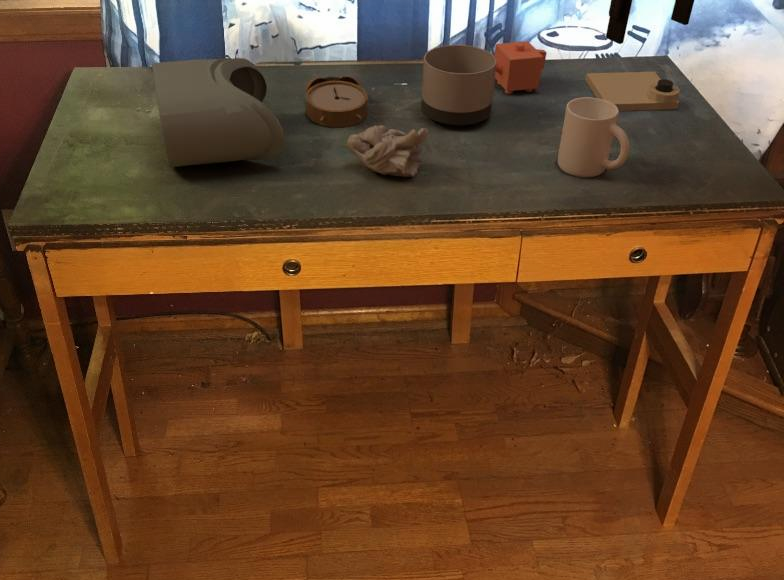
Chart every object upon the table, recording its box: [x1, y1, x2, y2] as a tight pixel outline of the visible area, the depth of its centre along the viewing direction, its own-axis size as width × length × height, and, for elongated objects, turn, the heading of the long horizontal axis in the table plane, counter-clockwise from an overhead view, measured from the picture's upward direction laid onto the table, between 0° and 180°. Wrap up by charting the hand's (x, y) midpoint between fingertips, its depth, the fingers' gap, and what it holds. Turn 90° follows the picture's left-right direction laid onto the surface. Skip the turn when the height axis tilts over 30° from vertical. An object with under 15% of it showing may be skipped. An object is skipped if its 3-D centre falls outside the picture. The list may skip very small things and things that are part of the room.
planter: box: [420, 44, 497, 127], centre depth 154 cm, size 13×13×10 cm
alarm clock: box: [305, 75, 368, 128], centre depth 158 cm, size 11×5×15 cm
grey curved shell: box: [151, 57, 286, 168], centre depth 143 cm, size 22×19×13 cm
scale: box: [584, 71, 681, 112], centre depth 165 cm, size 14×14×3 cm
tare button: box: [656, 79, 674, 93], centre depth 161 cm, size 3×3×2 cm
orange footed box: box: [493, 40, 547, 94], centre depth 165 cm, size 8×12×8 cm, turn 105°
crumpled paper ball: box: [346, 124, 429, 178], centre depth 140 cm, size 8×10×12 cm
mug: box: [557, 96, 630, 178], centre depth 140 cm, size 12×8×10 cm
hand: (647, 31), depth 124 cm, fingers open, 13 cm apart
